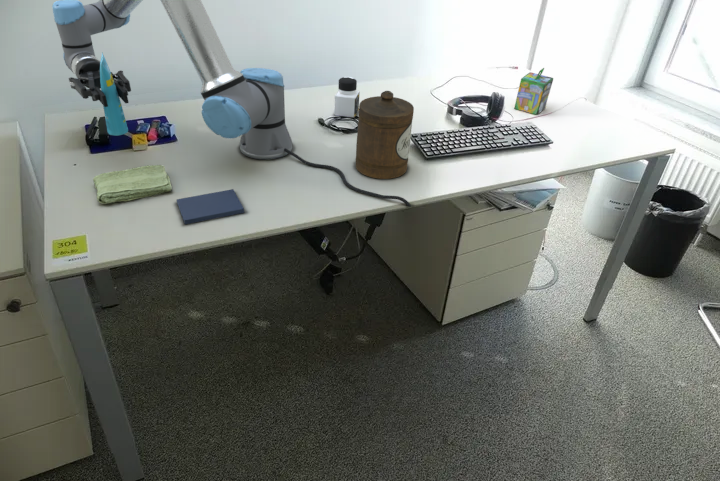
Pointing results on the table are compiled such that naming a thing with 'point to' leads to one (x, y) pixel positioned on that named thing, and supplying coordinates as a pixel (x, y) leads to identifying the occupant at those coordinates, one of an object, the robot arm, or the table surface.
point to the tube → (112, 102)
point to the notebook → (209, 206)
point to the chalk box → (533, 93)
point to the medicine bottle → (347, 98)
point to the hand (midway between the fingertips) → (115, 99)
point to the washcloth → (131, 184)
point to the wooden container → (383, 136)
